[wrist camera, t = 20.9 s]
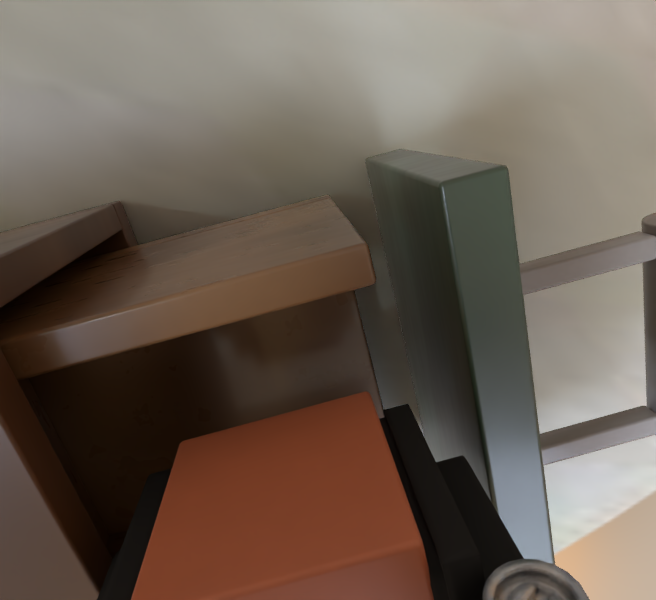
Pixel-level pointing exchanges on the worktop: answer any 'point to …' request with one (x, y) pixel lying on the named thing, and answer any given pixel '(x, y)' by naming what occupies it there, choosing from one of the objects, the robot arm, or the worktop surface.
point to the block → (287, 514)
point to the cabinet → (29, 437)
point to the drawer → (315, 337)
